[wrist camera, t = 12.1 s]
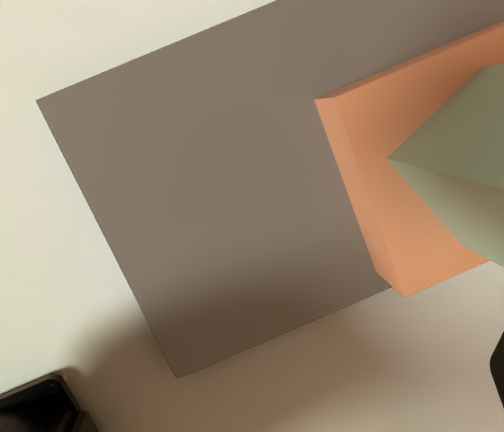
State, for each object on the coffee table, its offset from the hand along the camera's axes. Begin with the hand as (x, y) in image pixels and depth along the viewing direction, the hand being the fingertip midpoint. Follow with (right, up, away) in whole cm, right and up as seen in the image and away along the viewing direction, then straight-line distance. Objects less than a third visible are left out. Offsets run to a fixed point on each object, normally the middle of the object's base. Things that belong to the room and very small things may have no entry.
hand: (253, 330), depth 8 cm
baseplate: (+3, +5, +13) cm, 14 cm away
